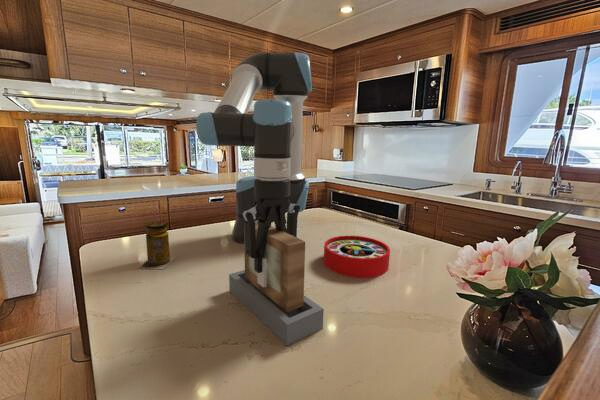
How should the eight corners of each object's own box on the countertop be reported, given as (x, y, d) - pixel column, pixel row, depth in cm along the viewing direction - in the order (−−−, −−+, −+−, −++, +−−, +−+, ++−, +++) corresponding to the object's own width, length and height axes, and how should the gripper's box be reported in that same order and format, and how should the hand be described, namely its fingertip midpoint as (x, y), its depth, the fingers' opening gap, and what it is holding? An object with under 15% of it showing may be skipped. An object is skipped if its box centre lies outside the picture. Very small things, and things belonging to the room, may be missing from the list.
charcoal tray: (229, 290, 76) (229, 274, 75) (260, 281, 81) (260, 265, 80) (287, 346, 57) (287, 324, 56) (322, 328, 62) (323, 308, 61)
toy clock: (328, 233, 105) (387, 238, 101) (327, 249, 106) (386, 254, 102) (320, 255, 86) (393, 262, 82) (319, 274, 87) (391, 282, 83)
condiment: (175, 257, 95) (172, 221, 93) (164, 269, 87) (161, 229, 84) (151, 257, 95) (148, 220, 92) (138, 269, 87) (134, 229, 84)
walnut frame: (244, 277, 74) (243, 222, 71) (259, 273, 76) (259, 220, 73) (287, 312, 60) (288, 245, 57) (303, 305, 62) (305, 241, 59)
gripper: (243, 183, 55) (244, 300, 60) (315, 177, 65) (311, 277, 70) (225, 178, 60) (228, 285, 65) (294, 173, 71) (292, 266, 76)
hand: (271, 281), depth 68 cm, fingers closed on walnut frame, 4 cm apart
